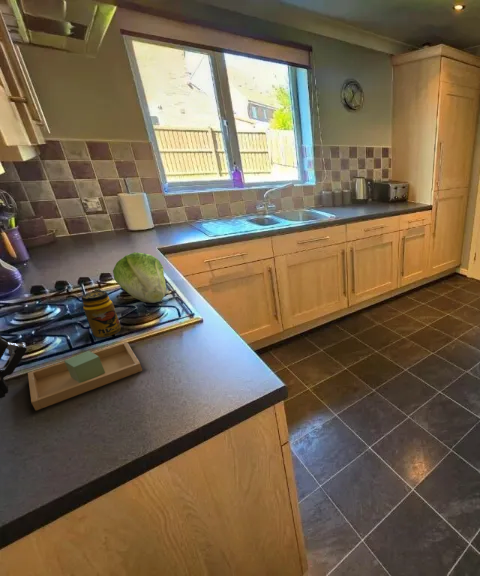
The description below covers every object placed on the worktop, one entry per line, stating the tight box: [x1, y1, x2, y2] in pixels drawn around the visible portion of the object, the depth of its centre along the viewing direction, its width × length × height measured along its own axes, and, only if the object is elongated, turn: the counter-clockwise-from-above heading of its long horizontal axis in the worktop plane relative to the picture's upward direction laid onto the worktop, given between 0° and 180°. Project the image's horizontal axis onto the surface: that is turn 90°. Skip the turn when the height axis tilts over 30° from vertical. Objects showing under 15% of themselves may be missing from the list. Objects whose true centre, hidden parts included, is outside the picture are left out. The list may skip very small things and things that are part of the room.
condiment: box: [81, 290, 122, 338], centre depth 88 cm, size 7×8×12 cm
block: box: [63, 350, 105, 383], centre depth 73 cm, size 4×4×4 cm
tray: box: [27, 341, 143, 411], centre depth 73 cm, size 18×13×3 cm
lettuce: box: [112, 251, 167, 304], centre depth 110 cm, size 14×24×14 cm
